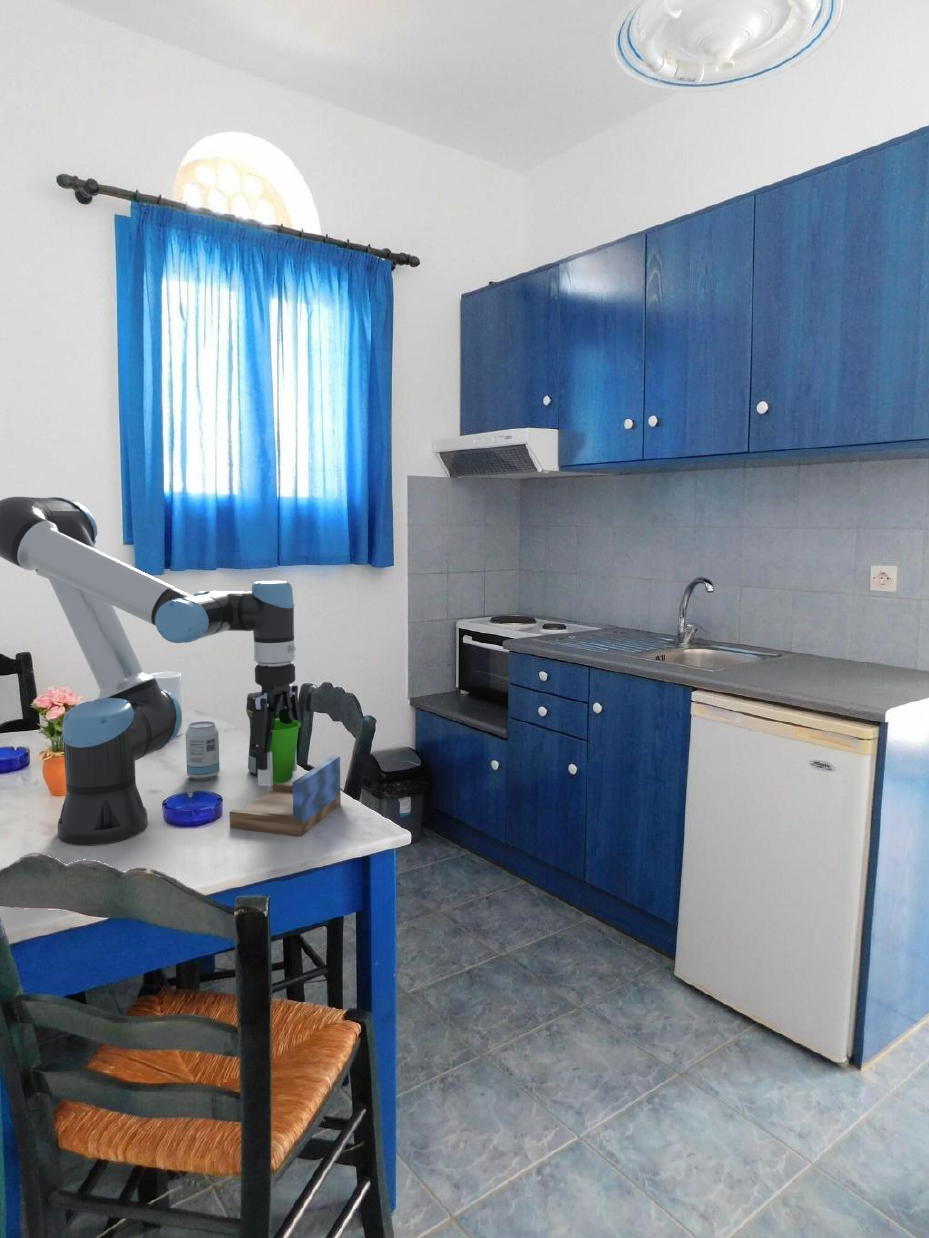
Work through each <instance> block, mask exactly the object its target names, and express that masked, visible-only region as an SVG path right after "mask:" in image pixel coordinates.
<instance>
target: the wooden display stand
mask: <svg viewBox="0 0 929 1238" xmlns="http://www.w3.org/2000/svg"><path fill="white" fill-rule="evenodd" d="M341 801H342V800H341V756H340V755H332V756H330V757H329V758H327V759H325V760H324V761H322V762H321V763H320V764H318V765H316V766H315V767H314V768H312V769H310V770H309V771H308V772H306V773H305V774H303V775H301V776H300V777H299V778H297V779H295V780H294V781H292V783H288V782H286V783H280V784H273V786H272V790H270V791H269V792H267V793H266V794H264V795H262V796H261V797H259V798H258V799H256V800H255V801H253V802H252V803H250V804H248V805H247V806H245V807H244V808H242V809H235V808H233V809H231V810H230V811H229V828H230V829H234V830H235V829H236V830H242V831H252V832H253V831H254V832H261V833H269V834H276V835H285V836H294V837H303V836H304V835H306V833H308V832H309V831H310V830H311V829H312V828H313V827H314V826H316V825H317V824H318V823H319V822H321V821H322V820H323V819H324V818H326V817H327V816H328V815H330V814H331V813H332V812H334V810H336V809H337V808H339V806H340V805H341V804H342V803H341Z"/></svg>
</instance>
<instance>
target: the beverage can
mask: <svg viewBox="0 0 929 1238" xmlns="http://www.w3.org/2000/svg"><path fill="white" fill-rule="evenodd" d="M219 735H220V734H219V729H218V727H217V726H216V723H215V722H214V721H205V720H204V721H201V720H200V721H195V722H192V723H189V724H188V728H187V729H186V731H185V755H186V760H185V761H186V774H187V775H186V776H188V777H190V778H191V779H192V780H194V781H202V782H203V781H209V780H212V779H214V778H215V777H216V776H217V775H218V774H220V768H221V767H220V743H219V742H220V740H219Z"/></svg>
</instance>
